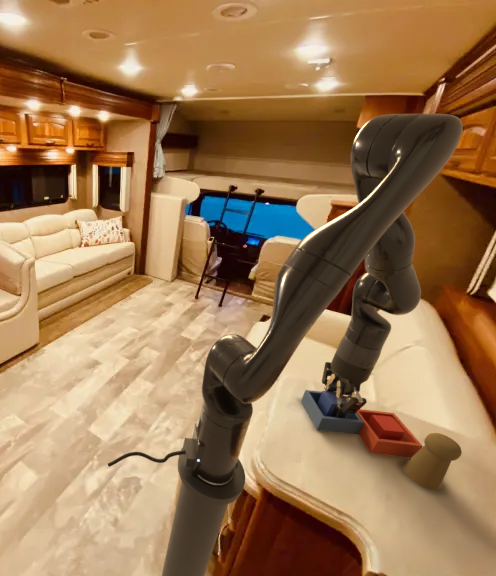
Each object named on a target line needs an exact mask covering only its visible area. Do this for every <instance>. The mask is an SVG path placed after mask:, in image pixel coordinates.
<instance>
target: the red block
mask: <svg viewBox="0 0 496 576" xmlns="http://www.w3.org/2000/svg"><path fill="white" fill-rule="evenodd" d="M368 425H369V426H370V427H371V429H372V430H373V431H374V433H375V434H376V435H377V437H378V438H379V439H386V440H394V441H400V440H401V438H402V437H403V435H404V434H405V432H404V430H403V429H402V428H401V427H400V426H399V425H398V423H397V422H396V421H395V420H394V419H393V418H392V417H389V416H379V415H372V416H371V418H370V419H369V421H368Z"/></svg>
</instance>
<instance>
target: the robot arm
mask: <svg viewBox="0 0 496 576" xmlns="http://www.w3.org/2000/svg"><path fill="white" fill-rule="evenodd" d="M463 130H464V129H463V122H462V120H461V119H460V118H459V117H458V116H456V115H453V114H449V113H389V114H382V115H377V116H375V117H373V118H371V119H370V120H368V121H367V122H366V123H365V124H363V126H362V127H361V128H360V129H359V131H358V132H357V134H356V136H355V137H354V139H353V142H352V146H351V149H350V169H351V174H352V180H353V185H354V188H355V192H356V193H355V194H356V197H357V201H358V203H357V204H356V205H355V206H353V207H352V208H351V209H349V210H348V211H347V210H346V212H344V213H342V214H341V215H339V216H337V217H335V218H333V219H331V220H330V221H328V222H325V223H324V224H323V225H321V226H319V227H317V228H315V229H314V230H313V231H311V232H309V233H308V234H307V235H305V236H304V237H302V239H301V240H300V241H299V242H298V243H297V244H296V246H295V248H294V249H293V250H292V252H291V253H290V254H289V255H288V258H286V259H285V261H284V263H283V264H282V266H281V268H280V269H279V271H278V273H277V275H276V278H275V282H274V288H273V289H274V290H273V298H272V299H273V300H272V312H271V320H270V323H269V325H268V328H267V330H266V332H265V335H264V337H263V338H262V341H261V342H260V343H259V345H258V346H257V347H256V346H255V345H254V344H252V342H250V341H249V340H248V339H246V338H245V337H243V336H242V335H240V334H236V333H230V334H226V335H223V336H221V337H220V338H218V339H217V340H216V341H214V343H213V345H211V347H210V349H209V351H208V352H207V356H206V360H205V364H204V369H203V376H202V384H201V396H202V399H203V401H202V406H201V410H200V414H199V418H198V423H194V428H193V432H192V437H191V438H190V437H184V439H183V445H182V448H183V449H184V450H182V451H181V450H177V451H172V452H170V453H167V454H166V455H165V456H164V457H163V458H156V457H153V456H152V455H149V454H147V453H145V452H141V451H131V452H126V453H124V454H122V455H121V456H119V457H117V458H116V459H114V460H112V461H110V462H107V467H108V468H110V467H112V466H114V465H116V464H117V463H119V462H121V461H123V460H124V459H127V458H129V457H135V456H138V457H143V458H145V459H147V460H149V461H151V462H154V463H157V464H164V463H166V462H167V461H168V460H169V459H171V458H172V457H176V456H179V455H182V454H184V458H185V467H191V473H192V476H193V477H197V478H198V479H199V480H201V481H202V482H204V483H205V484H207V485H210V486H214V487H222V486H225V485H227V484H229V483H230V482H231V480H232V478H233V475H234V471H235V467H236V469H237V466H238V463H237V460H238V459H239V457H240V454H241V451H242V448H243V445H244V443H245V439H246V436H247V432H248V429H249V426H250V423H251V420H252V416H253V413H254V408H253V403H254V402H257V401H258V400H260V399H261V398H263V397H264V396H265V395H266V394H267V393H268V392H269V391H270V390H271V389H272V387H273V386H274V385H275V384H276V382H277V380H278V379H279V377H280V376H281V374H283V373H282V372H283V371H284V369H285V368H286V366H287V365H288V363H289V361H290V360H291V359H292V357H293V355H294V354H295V352H296V350H297V349H298V347H299V346H300V344H301V343H302V341H303V340H304V338H305V337H306V335H307V334H308V333H309V331H310V330H311V329H312V327H313V326H314V325H315V324H316V322H317V321H318V319H319V318H320V317H321V315H323V313H324V312H325V310H326V309H327V308H328V307H329V305H330V304H332V302H333V301H334V300H335V299H336V297H338V295H339V293H340V292H341V291H342V290H343V288H344V287H345V286H346V285H347V284H348V282H349V281H350V280H351V278H352V277H353V276H354V274H355V273H356V271H357V270H358V269H359V268H360V266H361V264H362V263H363V262H364V269H365V271H366V272H365V273H363V274H362V275H360V276H359V277H358V279H357V280H356V281H355V283H354V285H353V290H352V304H351V305H352V306H351V315H350V321H349V323H348V326H347V328H346V331H345V333H344V335H343V336H342V337H341V340H340V341H339V343H338V345H337V348H336V350H335V353H334V355H333V357H332V359H331V361H325V362H324V367H323V368H324V369H323V373H322V378H321V383H322V384H323V385H324V388H323V389H324V391H332V392H337V393H336V398H337V405H336V407H335V409H334V411H333V413H332V415H331V417H336V418H343V417H344V415H345V413H351V414H355V413H356V412H357V411H358V410H359V409H362V408H363V407H364V406H365V405H366V404H367V402H368V401H367V398H365V397H362V396H361V394H360V391H361V385H362V384H363V383H365V382H367V381H368V380H369V378H370V376H371V375H372V373H373V371H374V368H375V367H376V365H377V363H378V361H379V358H380V356H381V353H382V349H383V348H384V345H385V343H386V341H387V339H388V337H389V336H390V333H391V330H392V324H391V323H390V321H389V320H387V319H386V318H385V317H384V316H382V315H381V314H380V313H379V312H378V311H377V309H378V310H380V311H382V312H384V313H387V314H390V315H393V316H404V315H407V314H409V313H411V312H413V311H414V310H416V308H417V307H418V305H419V304H420V302H421V297H422V287H421V284H420V281H419V279H418V275H417V272H416V269H415V267H414V264H413V263H414V256H415V248H416V234H415V229H414V227H413V225H412V222H411V221H410V219H409V218H408V216H407V215H406V212H405V211H406V210H407V208H408V207H409V206H411V205H412V203H413V202H414V201H415V200H416V199H417V198H418V197H419V195H420V194H422V192H424V190H425V189H426V188H427V187H428V186H429V185H430V184H431V183H432V181H433V180H434V179H435V178H436V177H437V176H438V175H439V173H440V172H441V171H442V170H443V168H444V167H445V166H446V164H447V163H448V162H449V160H450V159H451V157H452V156H453V154H454V153H455V151H456V150H457V148H458V145H459V144H460V141H461V138H462V135H463ZM328 377H329V378H328ZM342 395H344V396H342ZM343 401H346V403H345V404H342V402H343Z"/></svg>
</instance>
